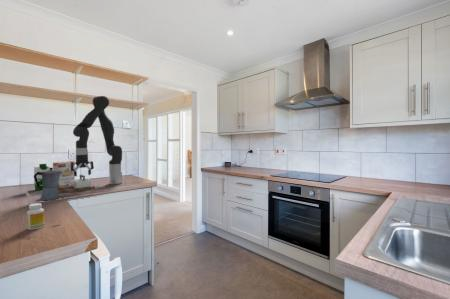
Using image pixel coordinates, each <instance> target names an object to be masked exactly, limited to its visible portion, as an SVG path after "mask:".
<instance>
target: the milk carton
mask: <svg viewBox="0 0 450 299" xmlns="http://www.w3.org/2000/svg"><path fill="white" fill-rule="evenodd" d="M38 165H39V166H33V170H34V171H33V176H34V175H35V174H36V173H37V172H44V171H49V170H50V168H51V166H50V165H47V163H40V164H38ZM36 177H37V180H38V184H39V185H40V186H41V185H42V187H37V185H36V182H35V179H34V178H33V180H34V190H35V191H42V190H43V181H42V175H37V176H36Z"/></svg>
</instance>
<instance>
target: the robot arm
mask: <svg viewBox="0 0 450 299" xmlns="http://www.w3.org/2000/svg"><path fill="white" fill-rule="evenodd" d="M92 105H93V109H92V110H91V111H89V112H88V113H86V115H85V116H84V118H83V119H82V120H81V122H80V123H78V124H77V125H76V126H75V127H74V128H73V131H72V133H73V136H74V137H77V138H79V139H77V140H76V141H75V163H71V171H74V176H75V177H78V175H77V174H78V172H77V171H78V169H81V168H82V169H83V168H84V169H85V168H86V169H88V170H87V172H88V173H87V174H88V176H90V175H91V174H92V170H94V161H91V160H90V161H89V150H88V140H89V136H90V130H89V128H92V126H93V125H94V123H95V122H96V120H97V119H98V121H99V124H100V129H101V131H102V136H103V139H104V142H105V147H106V148H105V149H106V152H107V154H108V156H110V157H111V159H110V160H109V161H108V169H109V170H108V172H109V173H108V174H109V175H108V176H109V177H108V178H109V179H108V181H109V184H110V185H119V184H123V172H122V160H123V148H122V147H121V146H120V145H116V143H115V142H114V135H115V127H114V124H113V121H112V120H111V119H110V118H109V117H108V115H107V114H106V111H105V110H106V108H108V106H109V105H110V99H109V98H108V97H107V96H105V95H100V96H94V97H93V99H92ZM89 164H90V166H89ZM74 165H75V169H73V166H74Z"/></svg>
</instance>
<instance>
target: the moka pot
mask: <svg viewBox="0 0 450 299" xmlns="http://www.w3.org/2000/svg"><path fill="white" fill-rule="evenodd" d="M61 173H62V172H61V171H54V170H53V167H50V170H49V171H44V172H37V173H36V174H35V175H34V174H33V180H34V179H35V182H36V185H37V187H42V185H41V186H40V185H39V184H38V180H37V177H36V176H37V175H42V181H43V190H41V195H40V200H41V201H53V200H54V201H55V200H58V199H59V198H60V196H59V194H58V187H57V186H58V182H59V177H60V175H61Z"/></svg>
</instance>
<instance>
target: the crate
mask: <svg viewBox="0 0 450 299" xmlns="http://www.w3.org/2000/svg"><path fill="white" fill-rule="evenodd" d="M91 185H92V180H91V179H89V178H86V176H85V174H79V179H75V180H74V189H75V188H83V187H90V186H91Z"/></svg>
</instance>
